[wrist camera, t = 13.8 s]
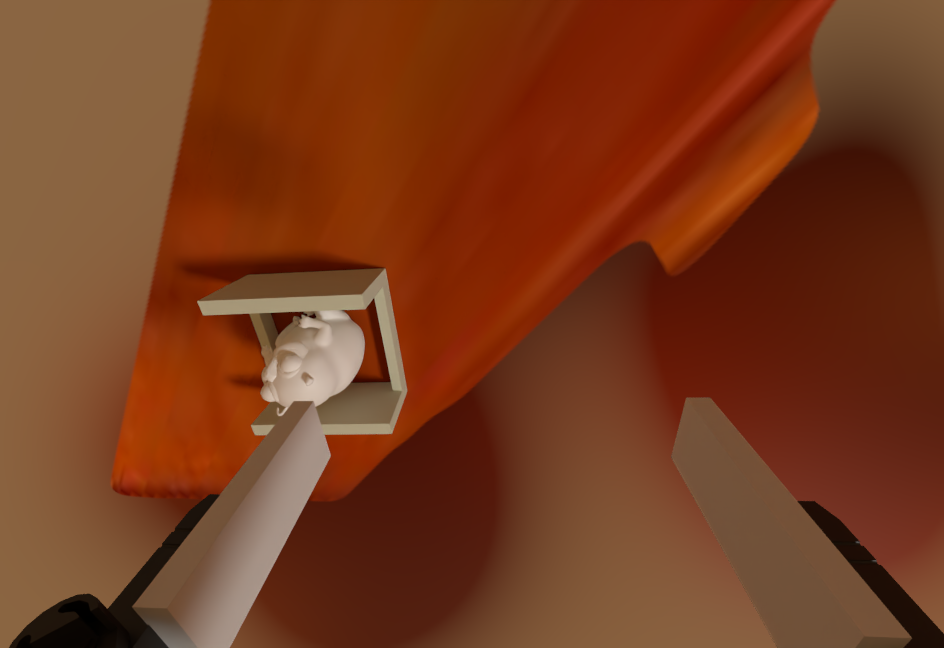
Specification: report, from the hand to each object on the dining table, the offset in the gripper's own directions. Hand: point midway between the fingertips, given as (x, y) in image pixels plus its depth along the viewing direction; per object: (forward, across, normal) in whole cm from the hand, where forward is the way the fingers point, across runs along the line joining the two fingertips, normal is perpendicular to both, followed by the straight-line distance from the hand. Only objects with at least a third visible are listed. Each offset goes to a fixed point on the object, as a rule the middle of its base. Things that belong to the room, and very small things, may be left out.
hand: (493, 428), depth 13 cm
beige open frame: (+28, -21, -11) cm, 37 cm away
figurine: (+29, -20, -11) cm, 37 cm away
